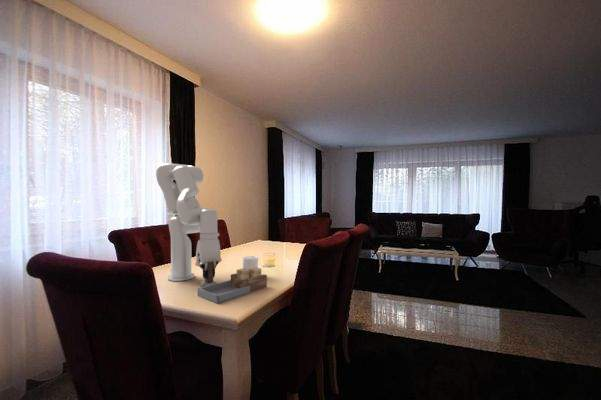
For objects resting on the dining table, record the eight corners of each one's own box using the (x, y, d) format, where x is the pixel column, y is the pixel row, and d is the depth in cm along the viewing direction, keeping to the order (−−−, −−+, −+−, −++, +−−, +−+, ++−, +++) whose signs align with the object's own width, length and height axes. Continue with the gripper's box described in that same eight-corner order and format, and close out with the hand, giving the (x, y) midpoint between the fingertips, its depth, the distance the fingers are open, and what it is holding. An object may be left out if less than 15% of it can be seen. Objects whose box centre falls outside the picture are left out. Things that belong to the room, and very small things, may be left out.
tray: (197, 295, 117) (197, 288, 117) (230, 286, 130) (230, 280, 130) (217, 303, 108) (217, 296, 108) (250, 293, 121) (250, 286, 121)
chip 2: (248, 277, 130) (248, 268, 130) (255, 275, 133) (255, 267, 133) (254, 279, 127) (254, 270, 127) (261, 277, 130) (261, 268, 130)
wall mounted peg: (200, 287, 129) (200, 261, 129) (208, 285, 132) (208, 260, 132) (209, 290, 124) (209, 264, 124) (217, 288, 127) (217, 262, 127)
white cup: (240, 276, 147) (240, 257, 147) (255, 274, 150) (255, 255, 150) (245, 280, 140) (244, 259, 140) (260, 278, 143) (260, 258, 143)
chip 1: (236, 278, 128) (236, 269, 128) (243, 276, 131) (243, 268, 131) (242, 280, 126) (242, 271, 126) (249, 278, 129) (249, 269, 129)
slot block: (230, 286, 129) (230, 274, 129) (248, 281, 137) (248, 270, 137) (249, 292, 121) (249, 279, 121) (266, 287, 129) (266, 275, 129)
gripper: (219, 234, 137) (219, 272, 137) (187, 237, 124) (187, 280, 124) (228, 235, 132) (229, 275, 132) (196, 239, 120) (196, 283, 120)
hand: (208, 277), depth 128 cm, fingers closed on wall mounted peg, 2 cm apart
